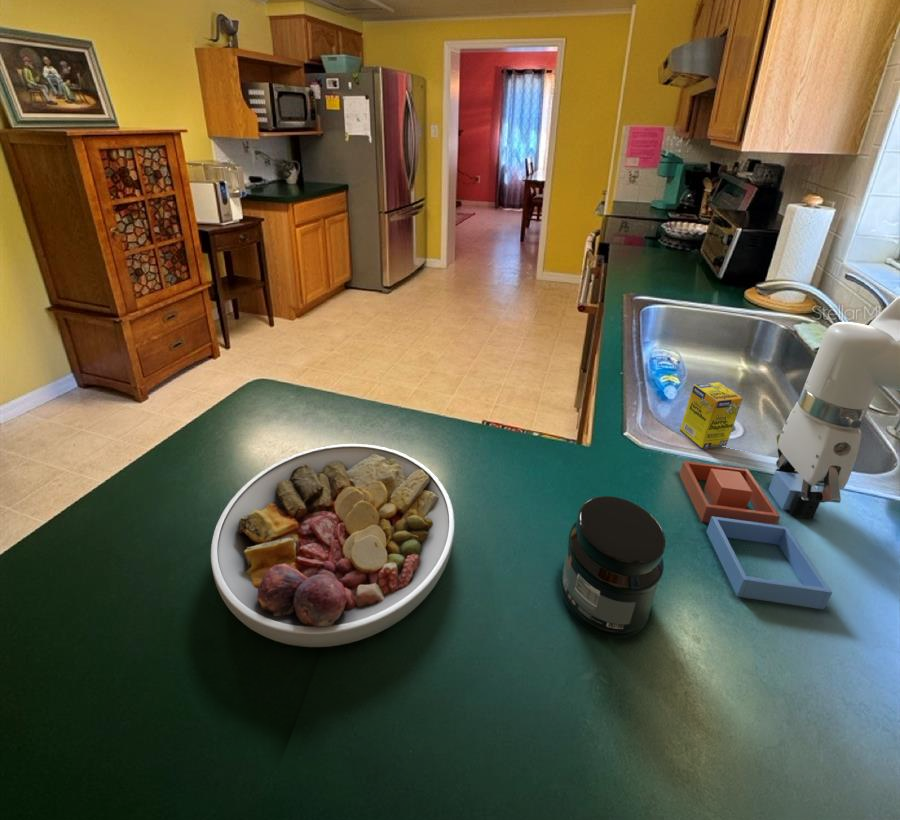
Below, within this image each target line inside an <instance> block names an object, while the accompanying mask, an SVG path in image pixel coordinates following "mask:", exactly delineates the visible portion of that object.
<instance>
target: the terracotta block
mask: <svg viewBox="0 0 900 820" xmlns="http://www.w3.org/2000/svg"><path fill="white" fill-rule="evenodd" d="M703 492H704V494H705V496H706V498H708V499H707V500H708V501H709V502H710V504H711V505H719V506H726V507H734V508H741V509H747V508H748V506H749V503H750V497H751V495H752V490H751V488H750V487H749V485H748V484H747V482H746V481H745V479H744V478H743V476H742V475H741V473H740V472H736V471H728V470H720V469H712V468H711V470H710V473H709V476H708V479H707V481H706V482H705V485H704V488H703Z"/></svg>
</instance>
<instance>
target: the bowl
mask: <svg viewBox="0 0 900 820" xmlns="http://www.w3.org/2000/svg"><path fill="white" fill-rule="evenodd" d="M454 536H455V514H454V508H453V503H452V501H451V498H450V496H449V493H448V491H447V489H446V488H445V486H444V485H443V483H442V482H441V481H440V479H439V478H438V477H437V476H436V475H435V474H434V472H433V471H432V470H431V469H429V468H428V467H427V466H425V465H424V464H423V463H422V462H420V461H418V460H417V459H415V458H414V457H412V456H409V455H408V454H405V453H403V452H400V451H398V450H395V449H392V448H389V447H384V446H380V445H373V444H366V443H365V444H364V443H340V444H331V445H330V444H329V445H326V446H325V445H324V446H318V447H314V448H310V449H308V450H304V451H301V452H298V453H295V454H292V455H290V456H288V457H286V458H283V459H281V460H279V461H277V462H275V463H274V464H271V465H270V466H268V467H267V468H265V469H263V470H262V471H261V472H259V473H258V474H256V475H255V476H254V477H252V478H251V479H250V480H249V481H247V482H246V483H245V484H244V485H242V487H241V488H240V489H239V490H238V491H237V492H236V493H235V494H234V495H233V497H232V498H231V499H230V501H229V502H228V503H227V505H226V506H225V508H224V510H223V511H222V513H221V515H220V517H219V519H218V521H217V523H216V526H215V528H214V531H213V535H212V540H211V546H210V564H211V569H212V570H211V571H212V575H213V579H214V583H215V586H216V588H217V591H218V593H219V595H220V598H221V600H222V601H223V602H224V604H225V605H226V607H227V608H228V609H229V611H230V612H231V613H232V614H233V616H235V617H236V618H237V619H238V620H239V621H240V622H241V623H242V624H243V625H244V626H246V627H247V628H249V629H250V630H252V631H254V632H255V633H257V634H259V635H261V636H263V637H264V638H267V639H270V640H272V641H274V642H278V643H282V644H284V645H291V646H295V647H296V646H297V647H304V648H305V647H306V648H327V647H328V648H329V647H335V646H341V645H346V644H351V643H354V642H358V641H361V640H364V639H367V638H369V637H372V636H374V635H376V634H379V633H381V632H383V631H384V630H387V629H389V628H390V627H392V626H394V625H395V624H397V623H398V622H400V621H401V620H403V619H404V618H405V617H407V616H408V615H409V614H411V613H412V612H413V611H414V610H415V609H416V608H417V607H419V605H420V604H421V603H423V601H424V600H425V599H426V598H427V597H428V595H430V593H431V592H432V590H433V589H434V588H435V586H436V585H437V583H438V582H439V580H440V578H441V577H442V575H443V573H444V571H445V569H446V566H447V564H448V562H449V558H450V556H451V552H452V549H453V543H454V538H455V537H454Z"/></svg>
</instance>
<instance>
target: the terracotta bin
mask: <svg viewBox="0 0 900 820" xmlns="http://www.w3.org/2000/svg"><path fill="white" fill-rule="evenodd" d="M711 468H712V469H720V470H728V471H736V472H740V473H741V475H742V476H743V478H744V479H745V481H746V482H747V484H748V485H749V487H750V488H751V490H752V495H751V497H750V500H749V502H751V504H752V505H753V507H754V509H747V508H746V509H741V508H734V507H726V506H719V505H712V504H711V503H709V500H708V499H707V496H706V494H705V492H704V490H703V488H702V487H701V485H700V483H699V482H698V480H699V481H706V482H707V479H708V476H709V473H710V470H711ZM679 477H680V480H681V481H682V484H683V486H684V488H685V490H686V492H687V494H688V497H689V498H690V500H691V503H692V505H693V507H694V509H695V511H696V513H697V515H698V517H699V519H700V521H701V522H702V523H708V524H709V523H710V520H711V517H712V516H714V517H721V518H728V519H736V520H743V521H750V522H758V523H765V524H772V525H778V524H779V520H780V518H781V515H780V514H779V512H778V511H777V510H776V508H775V507H774V505H773V504H772V502H771V501H770V499H769V498H768V496H767V495H766V493H765V492H764V490H763V488H762V487H761V486H760V485H759V483H758V481H757V479H755V477H754V476H753V474H752V473H751V472H750V470H749V469H748V468H741V467H735V466H728V465H727V466H725V465H720V464H719V465H718V464H710V463H703V462H695V461H688V460H683V462H682V465H681V469H680V472H679Z"/></svg>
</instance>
